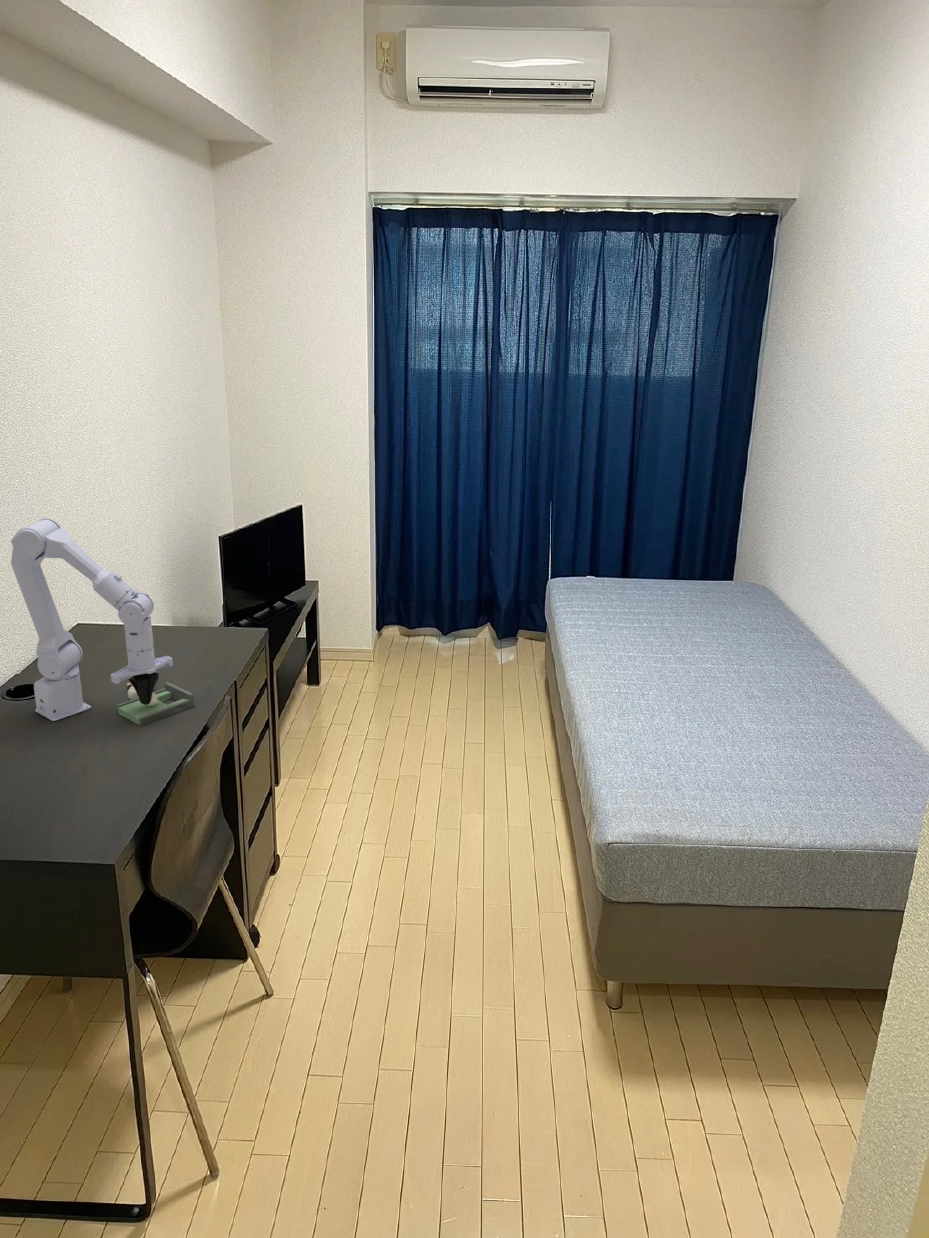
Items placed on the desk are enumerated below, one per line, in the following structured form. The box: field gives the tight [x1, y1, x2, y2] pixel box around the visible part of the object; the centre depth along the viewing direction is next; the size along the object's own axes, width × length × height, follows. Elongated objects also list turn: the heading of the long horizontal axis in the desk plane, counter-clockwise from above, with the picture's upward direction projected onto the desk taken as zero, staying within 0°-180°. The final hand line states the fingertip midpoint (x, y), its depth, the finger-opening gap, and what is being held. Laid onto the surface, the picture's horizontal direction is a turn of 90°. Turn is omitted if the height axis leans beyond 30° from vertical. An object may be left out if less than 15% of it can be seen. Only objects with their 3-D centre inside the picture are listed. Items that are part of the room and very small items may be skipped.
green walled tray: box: [115, 681, 195, 727], centre depth 210 cm, size 14×10×3 cm
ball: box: [147, 693, 158, 706], centre depth 209 cm, size 3×3×3 cm
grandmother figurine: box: [126, 671, 158, 700], centre depth 220 cm, size 8×4×13 cm
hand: (146, 702), depth 208 cm, fingers closed, pressing on ball
